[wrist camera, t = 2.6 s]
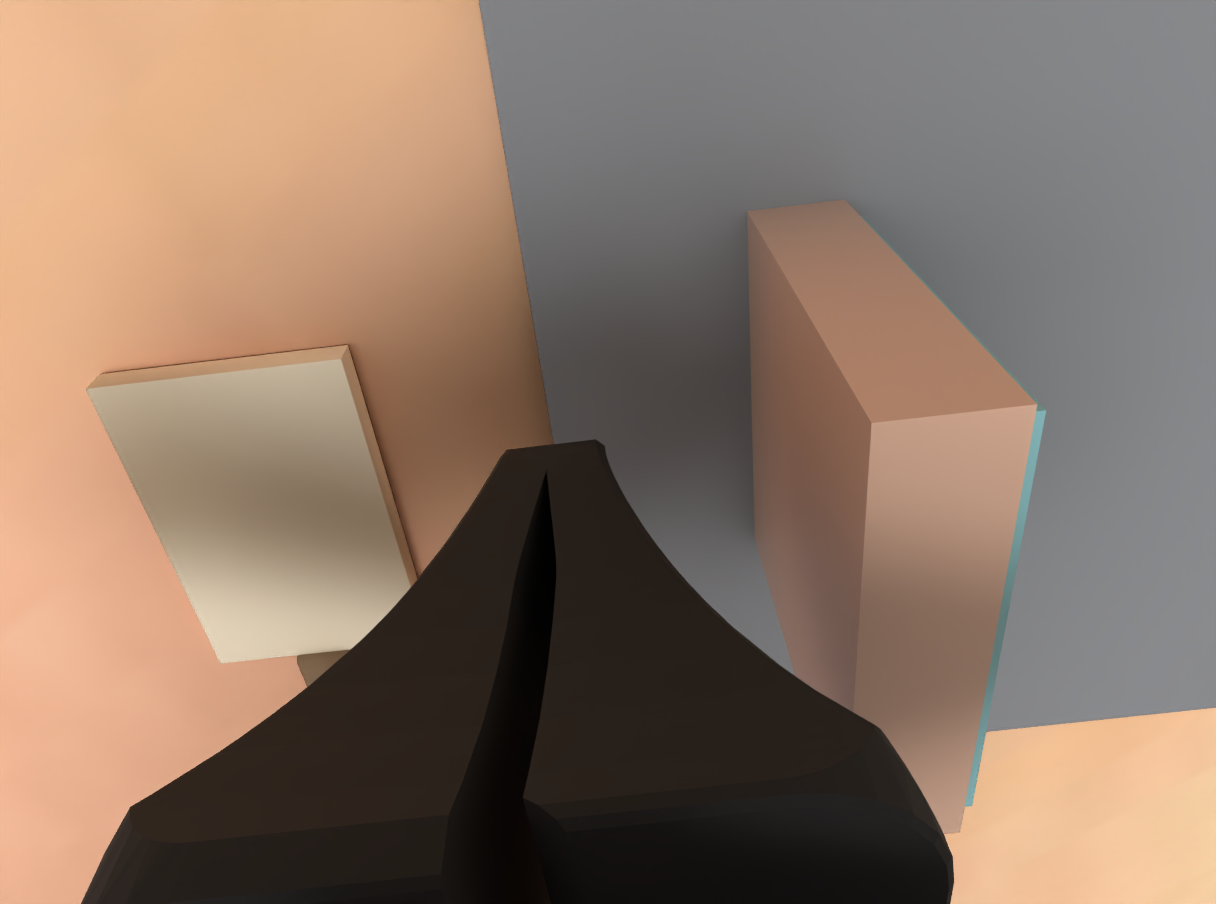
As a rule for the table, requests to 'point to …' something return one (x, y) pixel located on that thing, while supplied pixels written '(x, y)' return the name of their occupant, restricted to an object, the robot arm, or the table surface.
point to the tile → (884, 487)
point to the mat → (931, 245)
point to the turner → (265, 498)
